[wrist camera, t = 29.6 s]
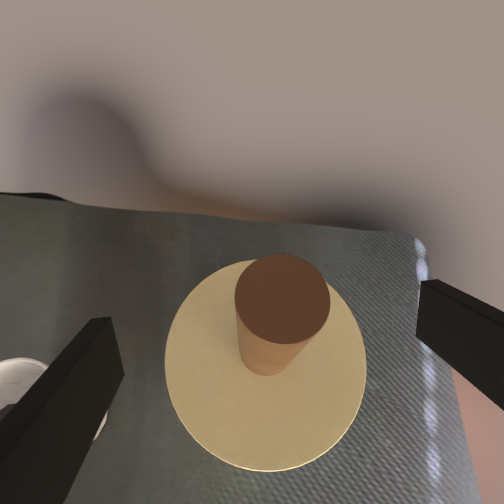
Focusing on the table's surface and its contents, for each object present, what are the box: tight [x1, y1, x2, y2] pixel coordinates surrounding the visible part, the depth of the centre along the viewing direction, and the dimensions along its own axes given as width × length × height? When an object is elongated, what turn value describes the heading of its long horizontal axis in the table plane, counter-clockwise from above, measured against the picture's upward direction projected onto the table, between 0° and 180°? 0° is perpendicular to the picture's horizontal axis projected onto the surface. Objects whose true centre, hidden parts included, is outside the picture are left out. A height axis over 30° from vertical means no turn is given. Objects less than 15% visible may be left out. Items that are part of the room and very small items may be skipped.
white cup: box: [0, 358, 108, 441], centre depth 24 cm, size 8×8×10 cm
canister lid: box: [165, 254, 366, 472], centre depth 16 cm, size 14×14×11 cm
